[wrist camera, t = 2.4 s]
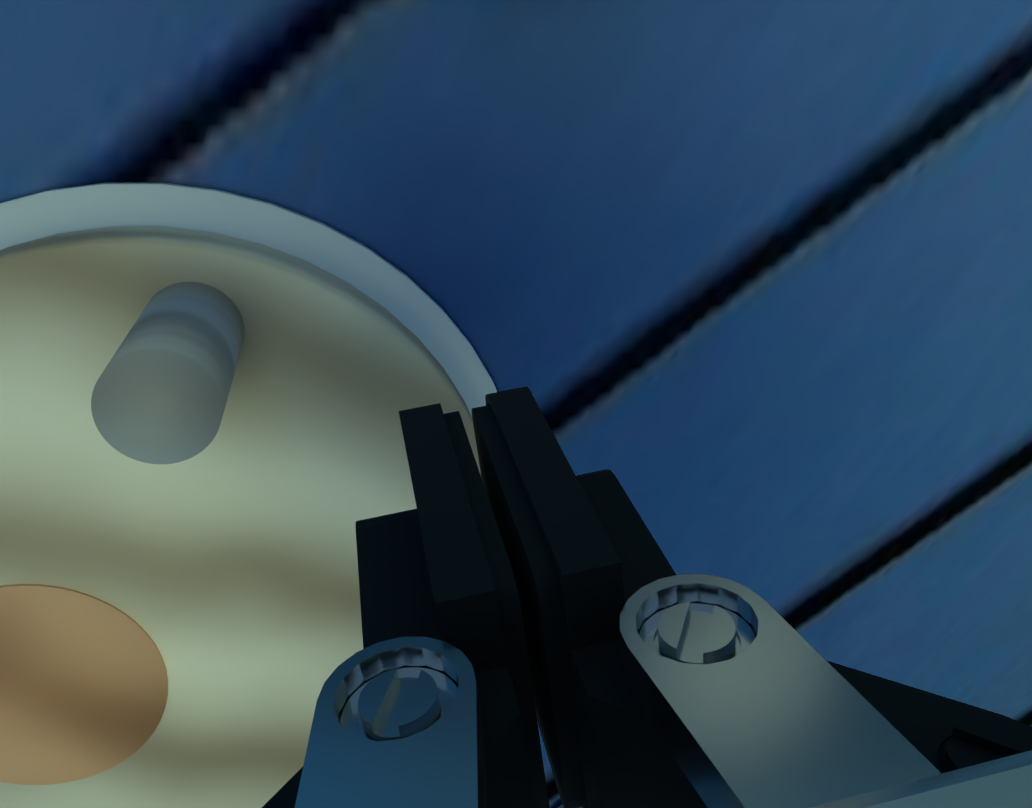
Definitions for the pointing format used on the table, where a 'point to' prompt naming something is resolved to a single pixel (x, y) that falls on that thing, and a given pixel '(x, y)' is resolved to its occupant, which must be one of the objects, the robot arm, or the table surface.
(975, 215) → the table surface
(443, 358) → the dial base
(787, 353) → the table surface
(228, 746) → the dial
